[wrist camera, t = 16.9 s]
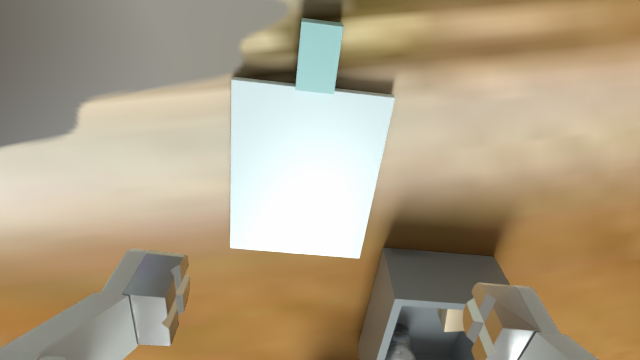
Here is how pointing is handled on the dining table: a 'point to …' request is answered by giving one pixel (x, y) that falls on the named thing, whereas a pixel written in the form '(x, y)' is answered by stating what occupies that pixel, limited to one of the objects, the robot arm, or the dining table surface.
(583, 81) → the dining table surface
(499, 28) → the dining table surface
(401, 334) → the grey glossy rounded piece
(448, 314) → the beech block
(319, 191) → the lid
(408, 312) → the tub
